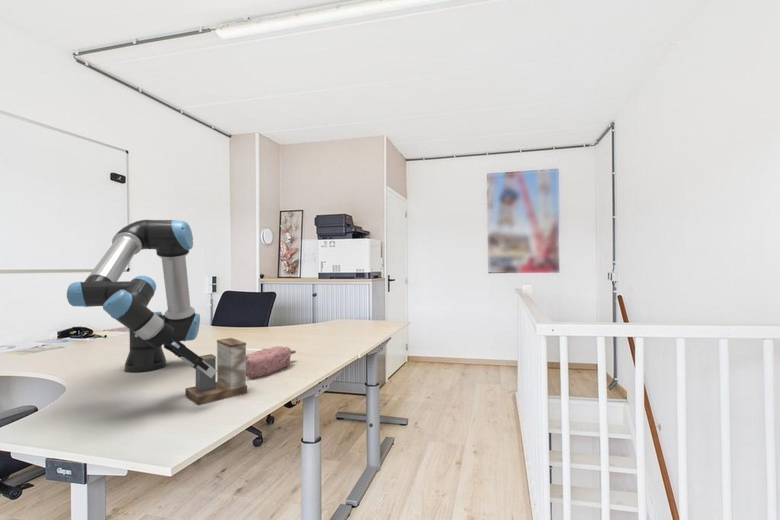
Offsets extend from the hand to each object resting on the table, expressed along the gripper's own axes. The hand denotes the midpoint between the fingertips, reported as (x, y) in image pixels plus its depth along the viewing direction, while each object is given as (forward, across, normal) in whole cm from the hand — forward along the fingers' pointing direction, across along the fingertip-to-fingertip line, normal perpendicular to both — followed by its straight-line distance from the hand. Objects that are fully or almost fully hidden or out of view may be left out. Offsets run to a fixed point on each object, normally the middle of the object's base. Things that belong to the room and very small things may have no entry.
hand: (205, 370), depth 129 cm
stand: (+9, 0, -4) cm, 10 cm away
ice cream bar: (+29, -15, +16) cm, 36 cm away
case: (+4, 0, -5) cm, 6 cm away
